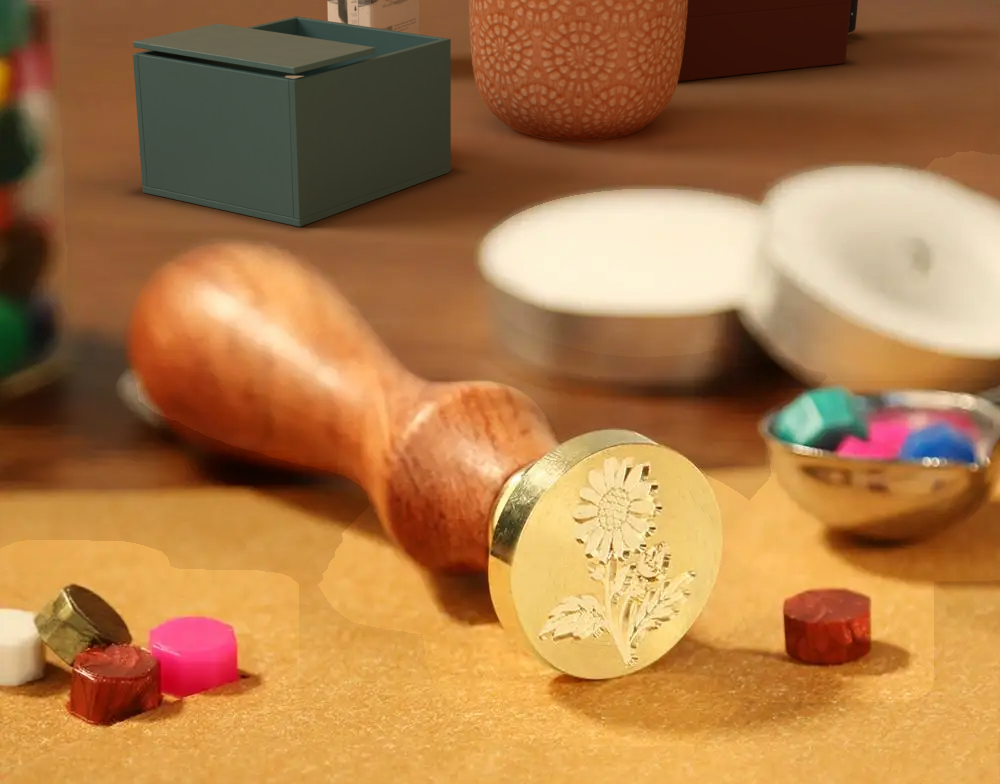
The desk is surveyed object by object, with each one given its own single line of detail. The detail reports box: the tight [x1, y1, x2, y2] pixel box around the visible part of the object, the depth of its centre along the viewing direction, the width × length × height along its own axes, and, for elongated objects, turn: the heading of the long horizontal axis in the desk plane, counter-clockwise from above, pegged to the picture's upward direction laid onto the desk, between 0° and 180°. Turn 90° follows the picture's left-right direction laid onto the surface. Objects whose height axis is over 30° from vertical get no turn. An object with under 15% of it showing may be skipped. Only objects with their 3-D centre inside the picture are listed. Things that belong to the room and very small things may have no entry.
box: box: [678, 0, 851, 82], centre depth 168 cm, size 21×16×10 cm
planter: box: [468, 0, 688, 142], centre depth 141 cm, size 17×17×15 cm
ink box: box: [327, 0, 421, 34], centre depth 161 cm, size 9×5×12 cm, turn 153°
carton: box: [132, 15, 452, 228], centre depth 127 cm, size 17×14×10 cm
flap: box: [132, 23, 375, 74], centre depth 121 cm, size 8×14×1 cm, turn 56°
